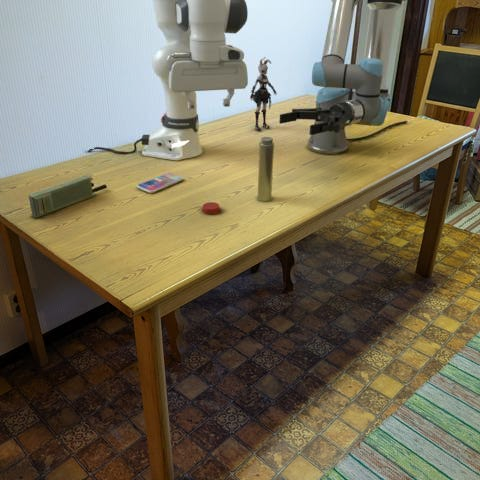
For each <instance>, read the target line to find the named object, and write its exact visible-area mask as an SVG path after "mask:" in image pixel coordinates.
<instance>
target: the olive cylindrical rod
mask: <svg viewBox="0 0 480 480" xmlns="http://www.w3.org/2000/svg"><path fill="white" fill-rule="evenodd" d="M273 140H274V138H272V137H271V136H262V137H261V138H260V141H259V143H258V145H259V148H258V175H257V176H258V177H257V179H258V180H257V201H260V202H270V201H271V200H272V192H273V191H272V190H273V170H274V148H275V143H274V141H273Z"/></svg>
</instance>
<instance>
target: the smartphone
mask: <svg viewBox="0 0 480 480" xmlns="http://www.w3.org/2000/svg"><path fill="white" fill-rule="evenodd" d="M182 181H184V177H183V176H180V175H179V174H174V173H172V172H166V173H163V174H161V175H159V176H156V177H154V178H151V179H149V180H146V181H143V182H141V183H138V184H137V185H136V188H137V189H139V190H141V191H143V192H145V193H148V194H154V193H156V192H158V191H160V190H161V191H162V190H164V189H166V188H168V187H170V186H172V185H175V184H177V183H180V182H182Z"/></svg>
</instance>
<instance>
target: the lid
mask: <svg viewBox="0 0 480 480" xmlns="http://www.w3.org/2000/svg"><path fill="white" fill-rule="evenodd" d="M220 209H221V207H220V204H219V203H217V202H214V201H213V202H212V201H209V202H208V201H207V202H205V203H203V205H202V213H204V214H205V215H216V214H218V213H220Z"/></svg>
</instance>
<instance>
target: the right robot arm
mask: <svg viewBox="0 0 480 480" xmlns="http://www.w3.org/2000/svg"><path fill="white" fill-rule="evenodd" d="M405 1H406V0H367V1H366V6H367V7H368V9H369V11H370V12H369V18H368V26H367V34H366V40H365V41H366V42H365V49H364V54H363V55H364V57H363V58H361V59H360V60H359V63H358V64H353V63H346V62H345V61H346V56H347V50H348V46H349V40H350V36H351V35H350V34H351V30H352V24H353V18H354V13H355V8H356V6H357V5H358V3H359V2H360V0H331V3H332V5H331V11H330V14H329V20H328V25H327V31H326V36H325V40H324V44H323V45H324V46H323V50H322V55H321V61H316V62H314V63H313V66H312V71H311V83H312V85H313V86H314V87H320V89H318V91H317V94H316V98H315V99H316V100H315V107H311V108H309V107H308V108H292V109H291V112H285V113H280V114H279V124H280V125H281V124H286V123H291V122H296V121H297V120H309V121H310V120H311V121H313V120H314V123H313V124H310V125H309V135H310V136H309V139H308V141H307V148H308V150H310V151H312V152H314V153H318V154H322V155H340V154H343V153H346V152H347V151H348V145H349V144H348V142H355V141H360V140H364V139H369V138H371V137H374V136H376V135H378V134H380V133H382V132H383V131H385V130H387V129H390V128H392V127H395V126H399V125H404V124H407V123H408V121H407V120H404V121H399V122H395V123H392V124H389V125H387V126H385V127H382V128H381V129H379V130H377V131H375V132H373V133H371V134H368V135H364V136H359V137H354V138H347V134H346V127H348V126H349V127H350V126H352V125H359V126H369V127H381V126H383V124H384V123H385V120H386V117H387V114H388V110H389V106H390V104H391V100H392V94H391V93H389V87H388V86H387V84H386V80H387V73H388V67H389V60H390V53H391V48H392V47H391V46H392V40H393V34H394V27H395V21H396V13H397V11H398V10H399V9H400V8H401V7H402V5H403V2H405ZM351 90H354V91H351Z"/></svg>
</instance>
